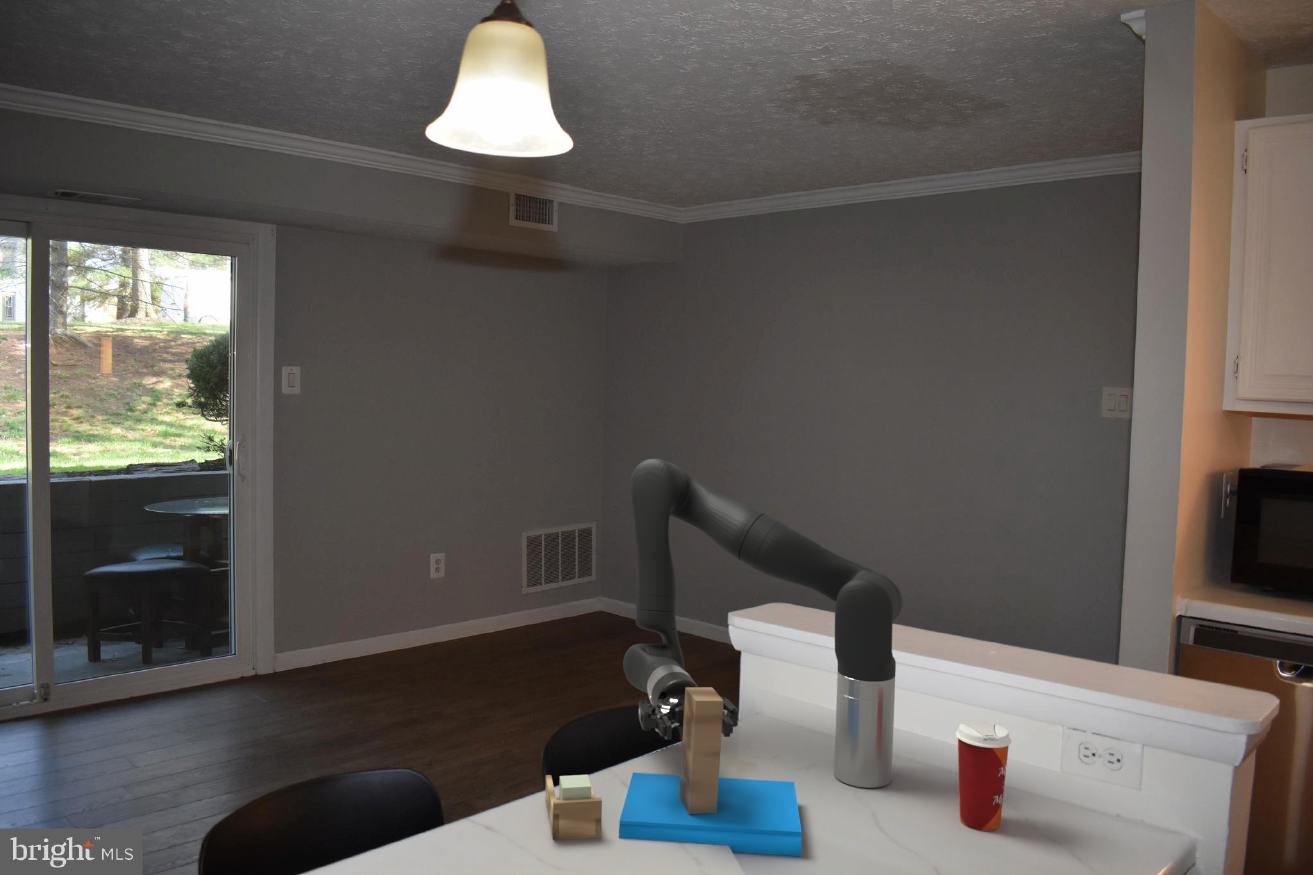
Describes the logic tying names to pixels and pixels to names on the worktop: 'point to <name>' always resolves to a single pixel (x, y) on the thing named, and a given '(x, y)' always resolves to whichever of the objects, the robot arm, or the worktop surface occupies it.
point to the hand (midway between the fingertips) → (699, 731)
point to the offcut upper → (574, 787)
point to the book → (715, 815)
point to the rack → (573, 815)
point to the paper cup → (981, 773)
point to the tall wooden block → (701, 750)
